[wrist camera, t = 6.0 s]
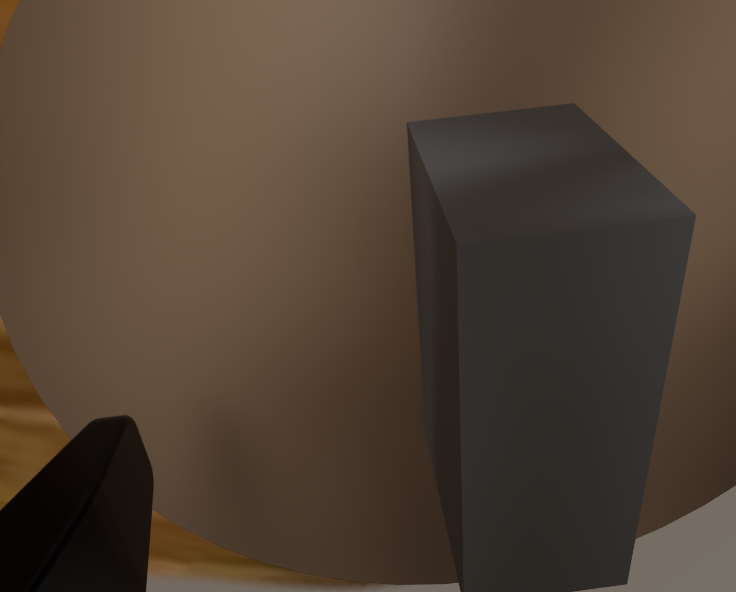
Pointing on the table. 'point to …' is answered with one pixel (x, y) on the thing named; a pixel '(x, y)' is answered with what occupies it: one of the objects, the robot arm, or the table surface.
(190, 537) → the table surface
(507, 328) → the walnut lid
